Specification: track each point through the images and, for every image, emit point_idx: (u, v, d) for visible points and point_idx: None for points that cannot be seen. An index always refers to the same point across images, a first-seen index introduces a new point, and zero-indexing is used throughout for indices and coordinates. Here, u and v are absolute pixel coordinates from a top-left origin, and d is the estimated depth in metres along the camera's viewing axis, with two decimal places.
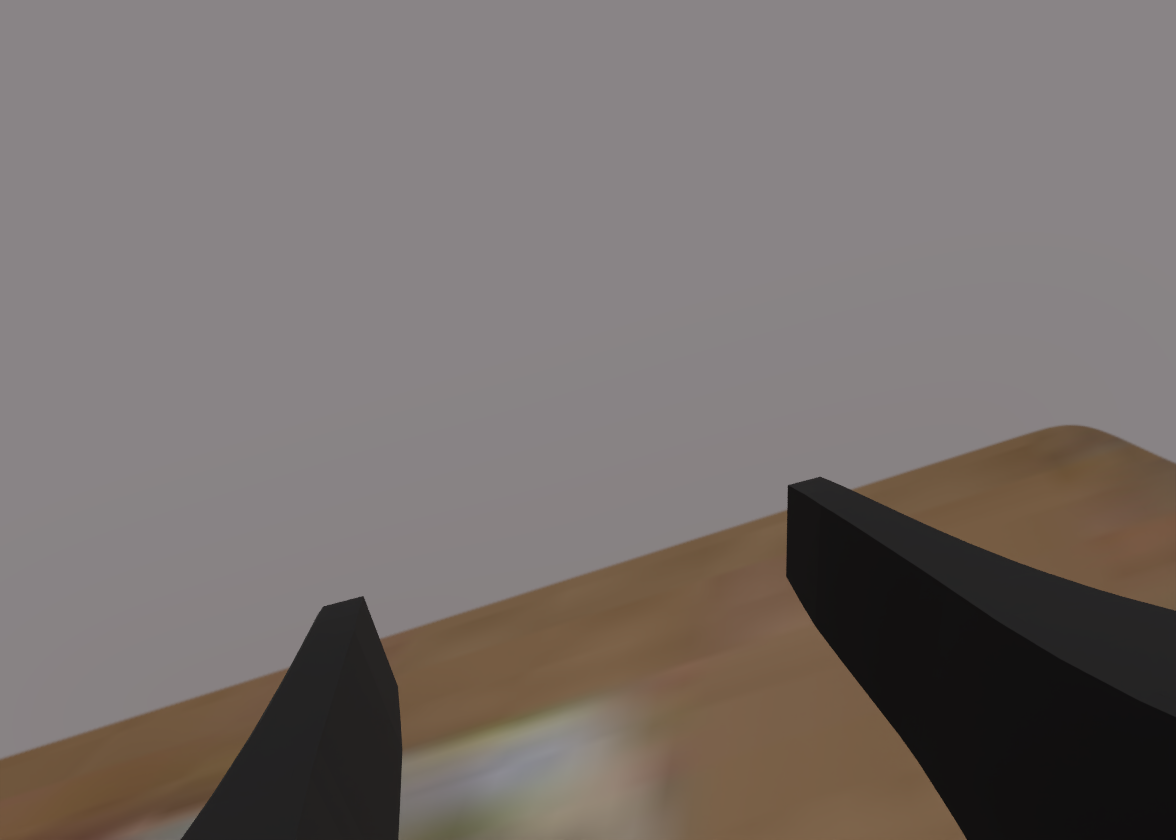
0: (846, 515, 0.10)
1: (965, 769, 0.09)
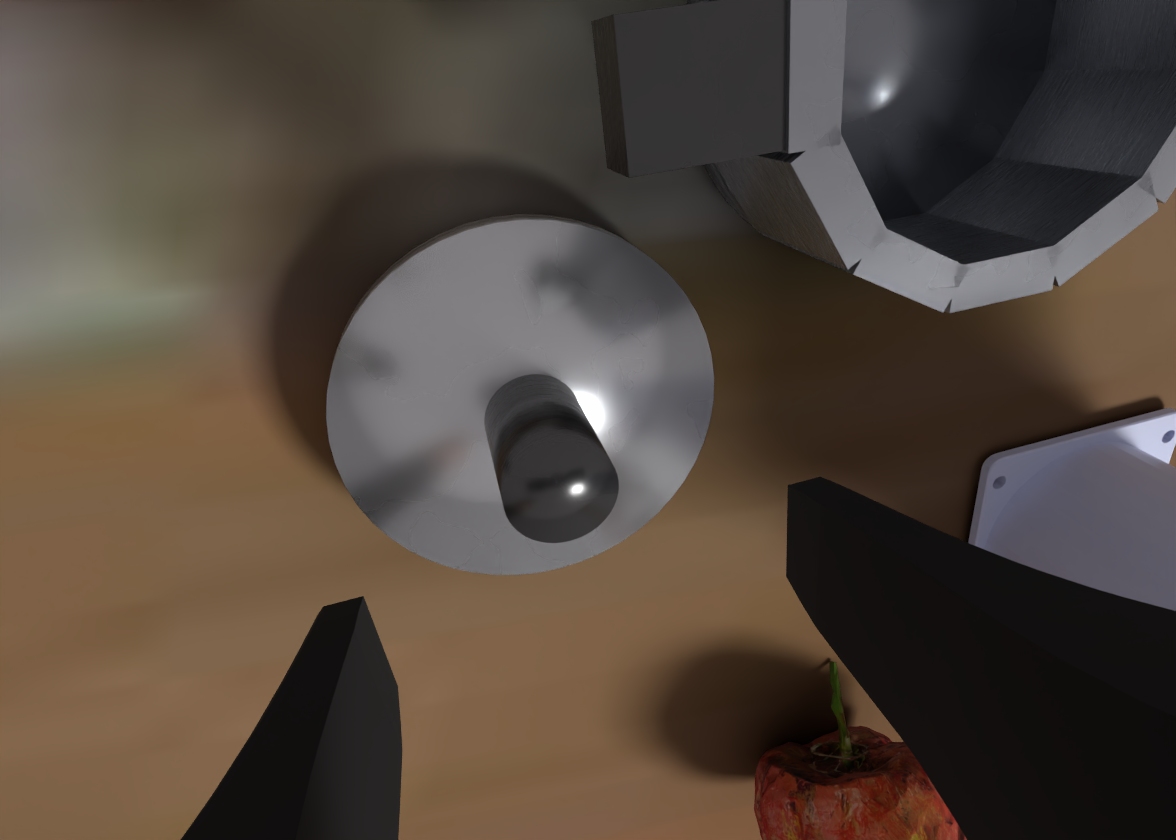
0: (846, 515, 0.10)
1: (965, 769, 0.09)
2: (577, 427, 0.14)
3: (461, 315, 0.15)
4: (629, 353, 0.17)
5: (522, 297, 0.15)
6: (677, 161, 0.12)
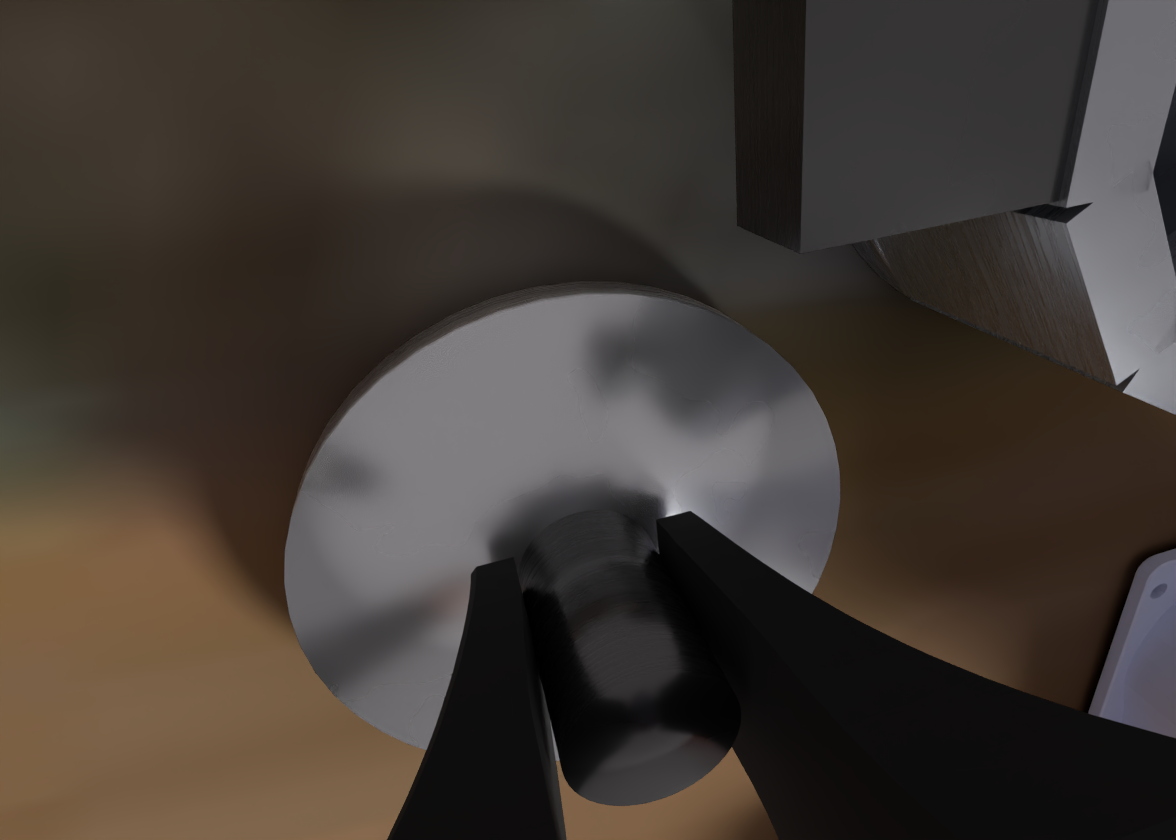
0: (697, 556, 0.10)
1: (796, 828, 0.08)
2: (674, 627, 0.09)
3: (488, 436, 0.10)
4: (727, 475, 0.11)
5: (579, 406, 0.10)
6: (882, 223, 0.07)
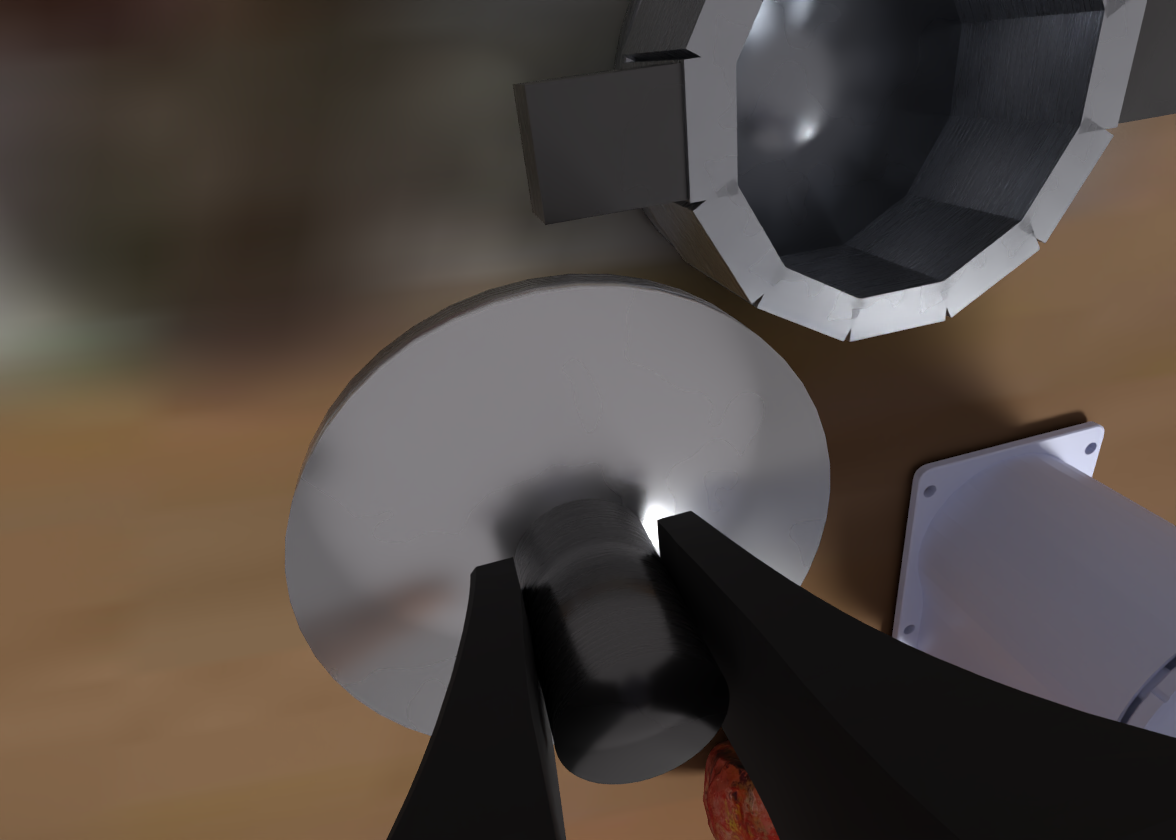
0: (697, 556, 0.10)
1: (797, 828, 0.08)
2: (665, 611, 0.09)
3: (484, 425, 0.10)
4: (719, 465, 0.12)
5: (574, 397, 0.10)
6: (589, 210, 0.13)
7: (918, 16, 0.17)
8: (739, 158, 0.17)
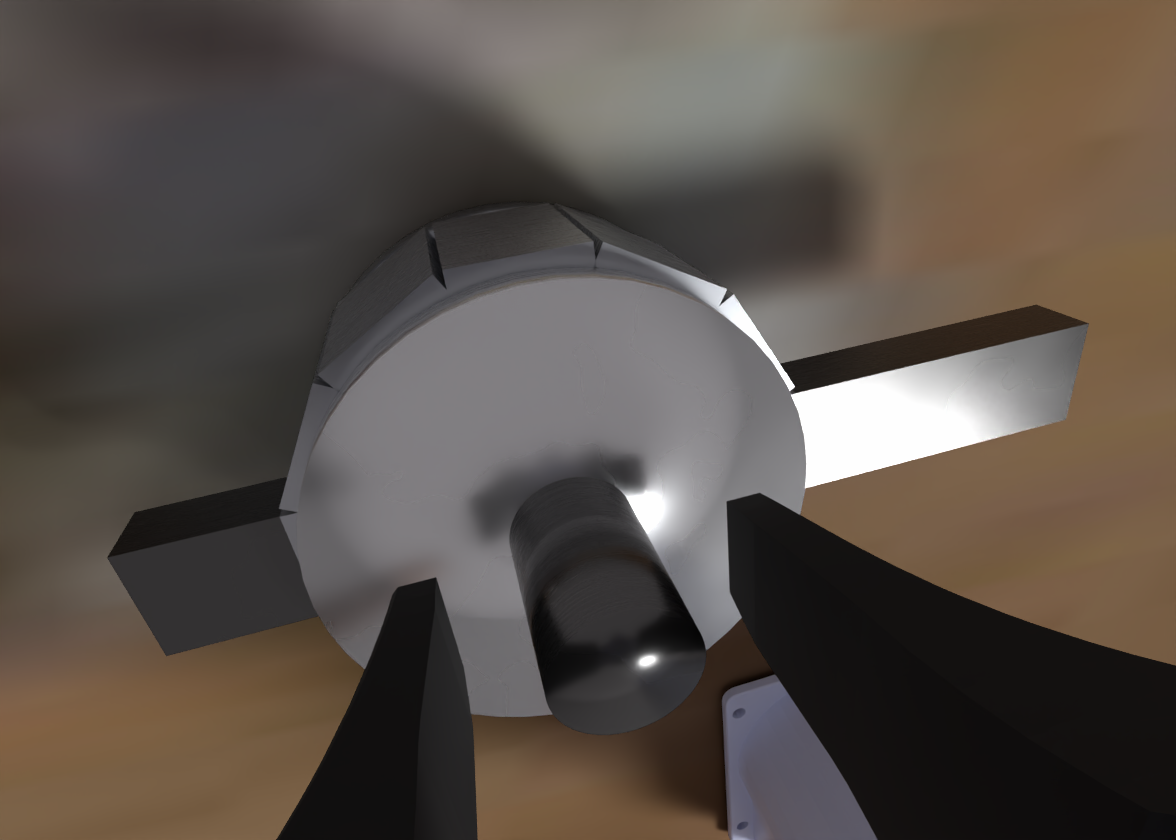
0: (776, 534, 0.10)
1: (887, 796, 0.08)
2: (653, 576, 0.10)
3: (496, 397, 0.11)
4: (706, 456, 0.13)
5: (580, 379, 0.11)
6: (213, 637, 0.13)
7: None
8: None
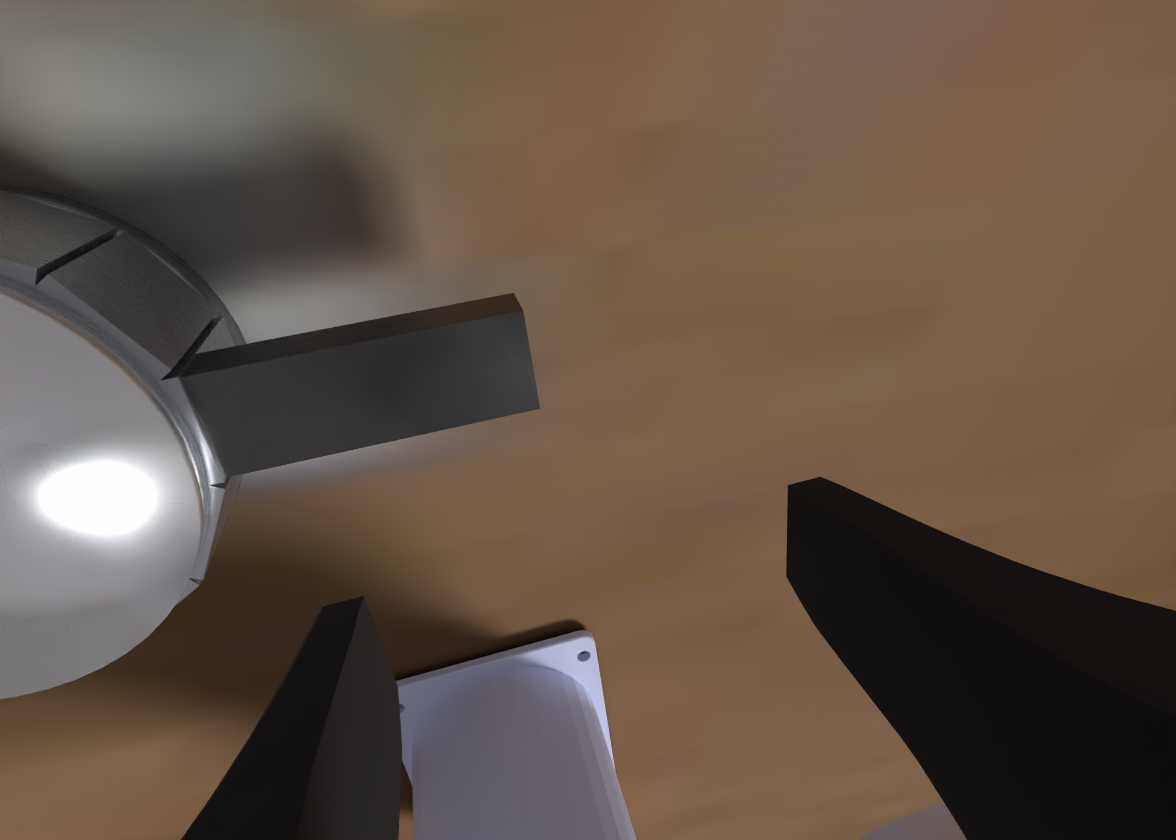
0: (846, 515, 0.10)
1: (965, 769, 0.09)
2: None
3: None
4: (44, 438, 0.13)
5: None
6: None
7: None
8: None
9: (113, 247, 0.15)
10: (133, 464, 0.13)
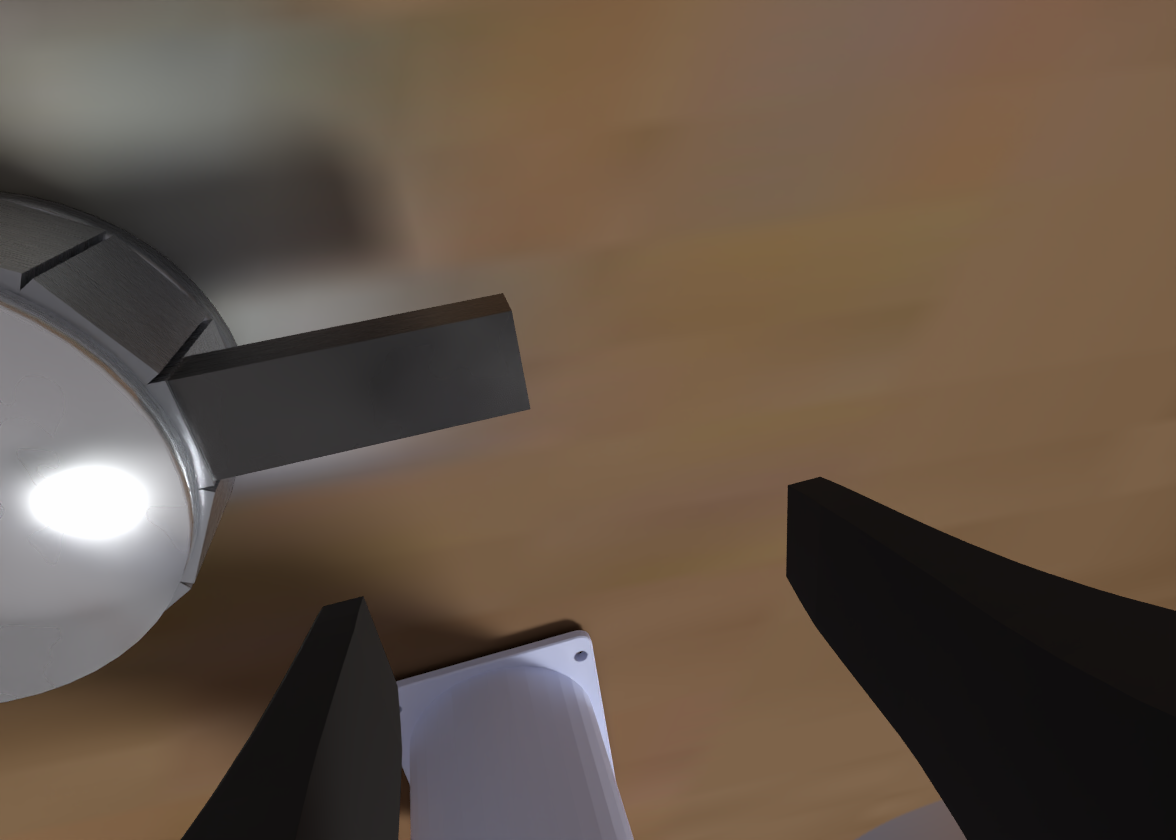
0: (846, 515, 0.10)
1: (965, 769, 0.09)
2: None
3: None
4: (30, 443, 0.13)
5: None
6: None
7: None
8: None
9: (100, 251, 0.15)
10: (121, 468, 0.13)
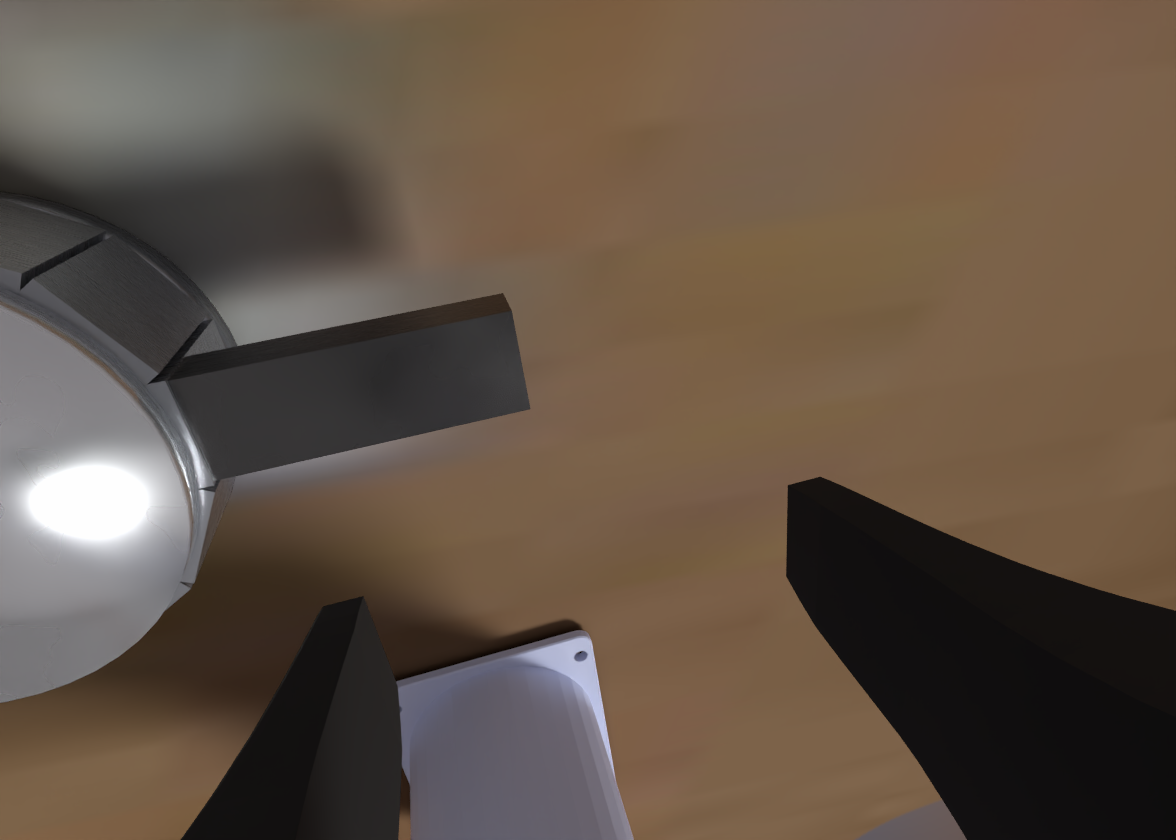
0: (846, 515, 0.10)
1: (965, 769, 0.09)
2: None
3: None
4: (30, 443, 0.13)
5: None
6: None
7: None
8: None
9: (100, 251, 0.15)
10: (121, 468, 0.13)
